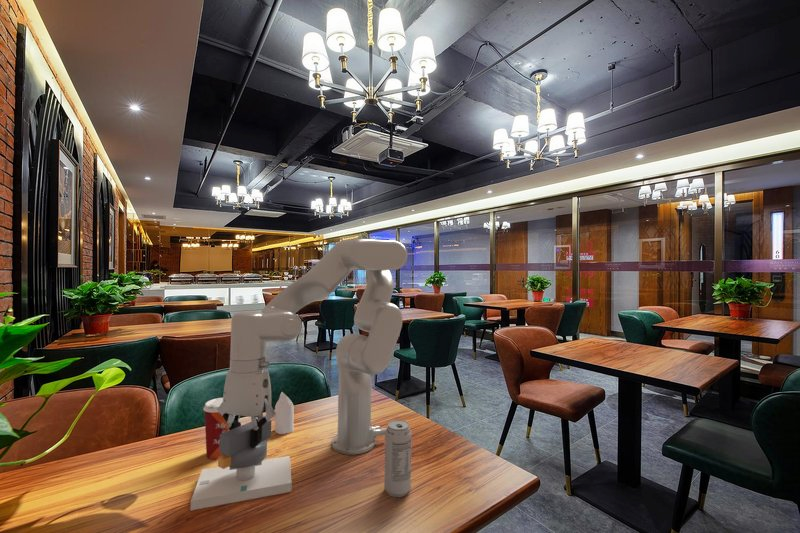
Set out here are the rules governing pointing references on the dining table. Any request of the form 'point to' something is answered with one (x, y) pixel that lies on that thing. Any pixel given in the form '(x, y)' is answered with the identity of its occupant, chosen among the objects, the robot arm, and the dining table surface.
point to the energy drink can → (397, 458)
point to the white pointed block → (284, 415)
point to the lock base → (242, 483)
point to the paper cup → (214, 427)
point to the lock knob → (242, 447)
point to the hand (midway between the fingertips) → (245, 442)
